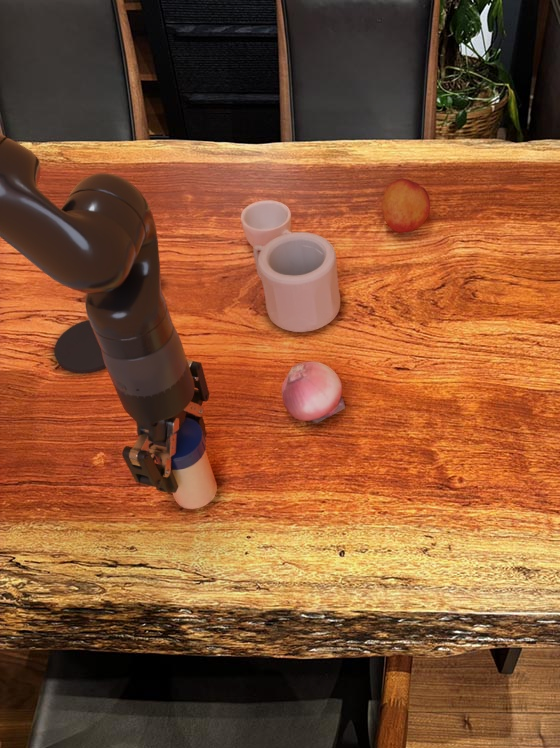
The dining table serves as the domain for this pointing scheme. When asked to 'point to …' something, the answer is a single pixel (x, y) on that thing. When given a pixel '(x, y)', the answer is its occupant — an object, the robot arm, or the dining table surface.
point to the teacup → (265, 221)
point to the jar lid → (186, 445)
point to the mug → (299, 280)
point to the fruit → (405, 205)
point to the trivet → (79, 350)
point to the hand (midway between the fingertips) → (183, 461)
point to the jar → (195, 484)
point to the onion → (312, 392)
